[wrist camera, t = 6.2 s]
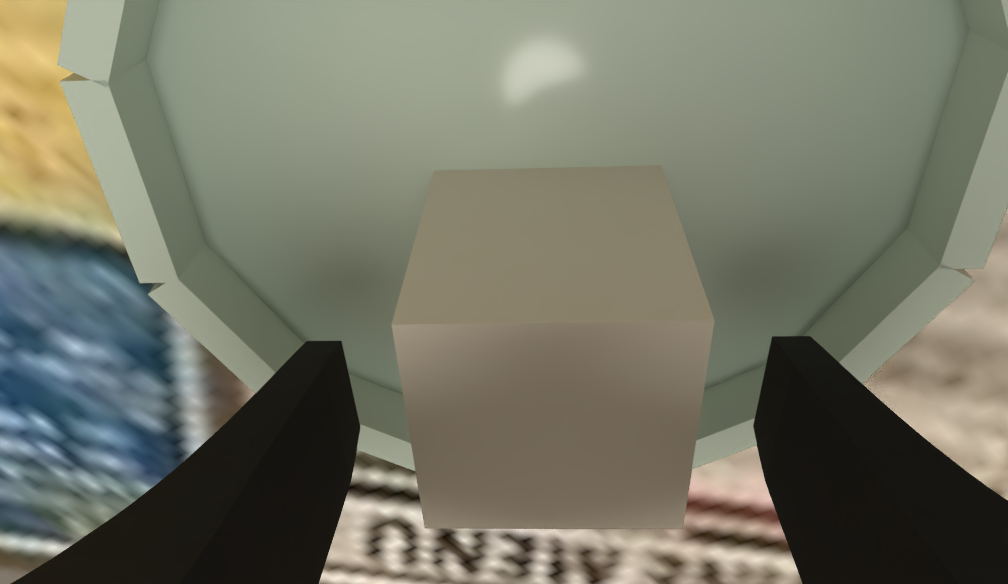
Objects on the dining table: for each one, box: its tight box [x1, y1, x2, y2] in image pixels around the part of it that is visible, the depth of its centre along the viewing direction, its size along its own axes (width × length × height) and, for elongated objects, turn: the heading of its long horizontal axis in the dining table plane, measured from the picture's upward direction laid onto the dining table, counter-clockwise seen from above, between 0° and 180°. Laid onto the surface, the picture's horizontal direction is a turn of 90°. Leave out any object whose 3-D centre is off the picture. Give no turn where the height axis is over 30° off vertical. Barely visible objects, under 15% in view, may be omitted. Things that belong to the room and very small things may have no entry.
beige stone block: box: [392, 165, 715, 529], centre depth 13 cm, size 4×4×5 cm
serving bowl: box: [57, 0, 1008, 471], centre depth 13 cm, size 16×16×2 cm
